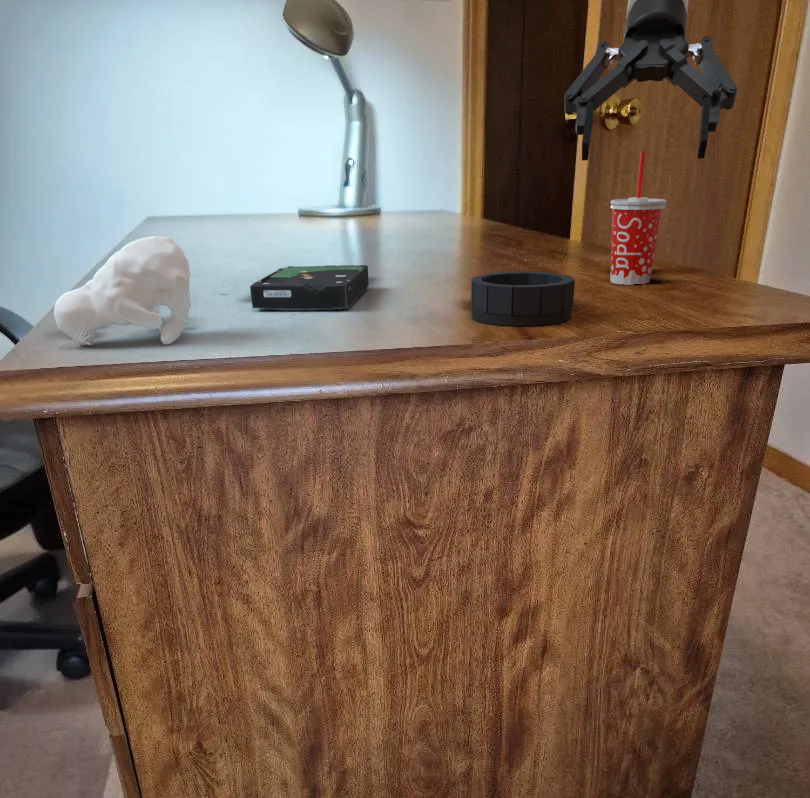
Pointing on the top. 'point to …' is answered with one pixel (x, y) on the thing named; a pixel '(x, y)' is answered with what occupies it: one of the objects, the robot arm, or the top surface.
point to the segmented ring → (522, 298)
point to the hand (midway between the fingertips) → (642, 151)
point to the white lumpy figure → (131, 292)
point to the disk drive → (310, 287)
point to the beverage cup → (634, 235)
